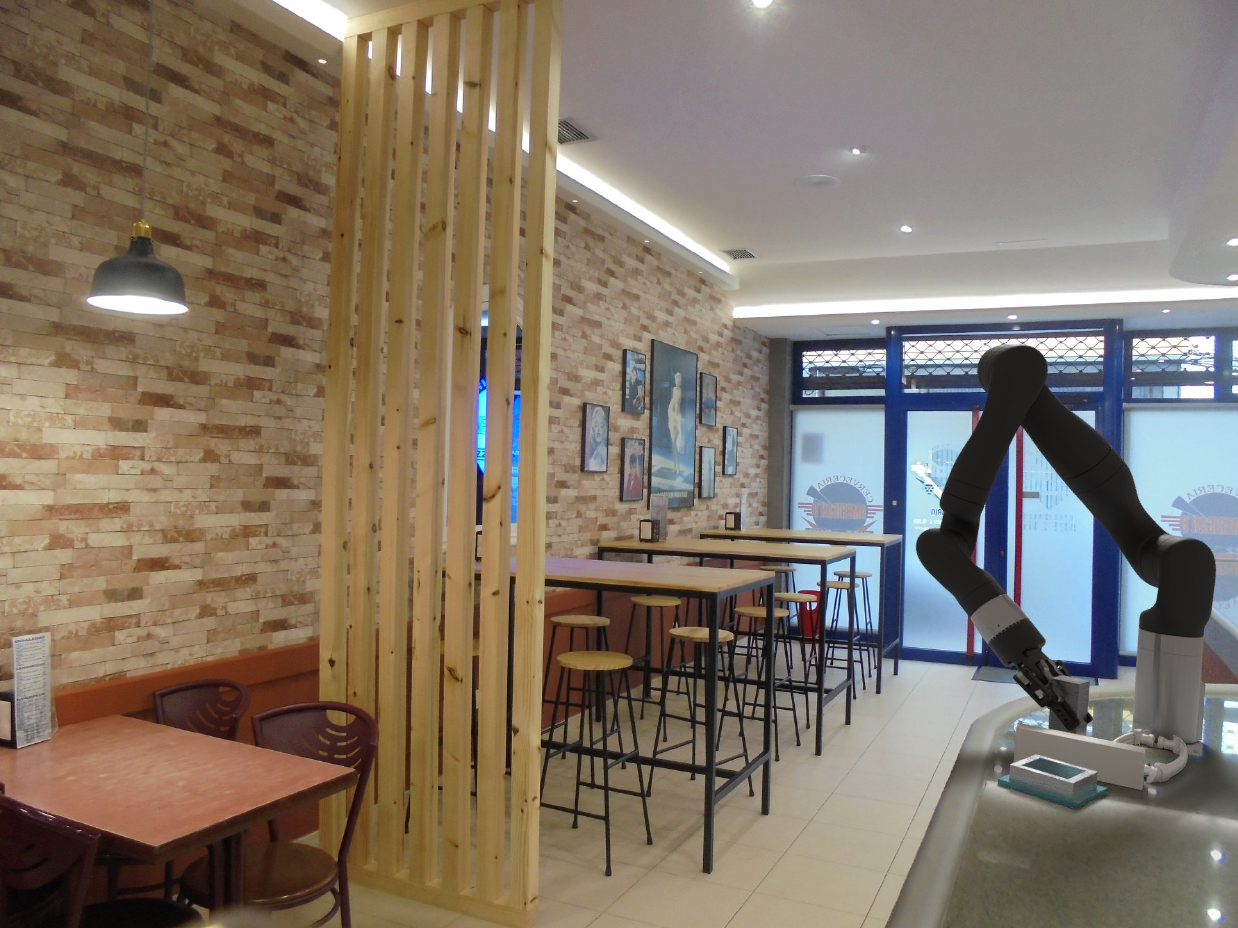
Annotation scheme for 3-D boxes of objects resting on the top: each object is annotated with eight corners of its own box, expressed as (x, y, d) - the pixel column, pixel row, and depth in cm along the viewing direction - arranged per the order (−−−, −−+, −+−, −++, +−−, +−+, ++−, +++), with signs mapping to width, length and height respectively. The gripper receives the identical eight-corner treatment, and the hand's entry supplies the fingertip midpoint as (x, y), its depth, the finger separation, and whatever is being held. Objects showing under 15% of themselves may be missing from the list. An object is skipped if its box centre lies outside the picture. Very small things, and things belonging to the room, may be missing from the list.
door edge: (1013, 761, 128) (1016, 727, 128) (1017, 756, 131) (1019, 722, 131) (1142, 790, 120) (1144, 752, 120) (1143, 784, 122) (1145, 747, 122)
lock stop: (1057, 745, 138) (1062, 675, 138) (1085, 753, 135) (1089, 680, 135) (1046, 750, 135) (1051, 677, 135) (1074, 757, 132) (1079, 683, 132)
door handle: (1196, 754, 140) (1172, 791, 121) (1125, 738, 147) (1091, 772, 127) (1197, 737, 140) (1173, 772, 121) (1126, 722, 147) (1093, 753, 127)
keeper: (1030, 770, 125) (1031, 750, 125) (1107, 793, 117) (1108, 772, 117) (997, 784, 118) (999, 763, 118) (1076, 809, 111) (1078, 787, 111)
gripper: (1004, 619, 136) (1083, 719, 127) (1043, 613, 146) (1119, 706, 137) (968, 647, 140) (1042, 745, 131) (1009, 639, 150) (1081, 731, 140)
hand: (1081, 724), depth 134 cm, fingers closed on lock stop, 4 cm apart
